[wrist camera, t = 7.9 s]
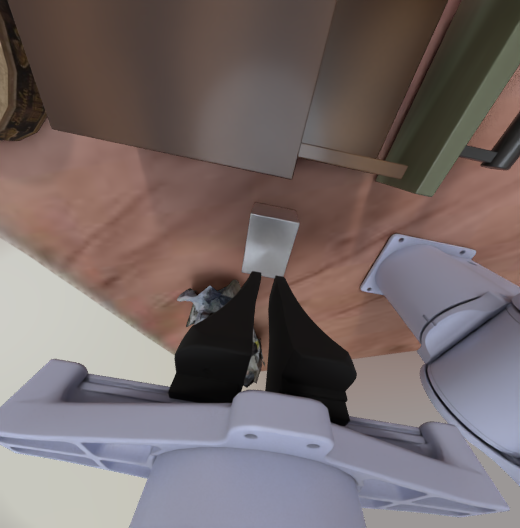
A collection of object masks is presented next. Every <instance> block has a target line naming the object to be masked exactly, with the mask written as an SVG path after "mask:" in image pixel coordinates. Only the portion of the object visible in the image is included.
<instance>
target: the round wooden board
mask: <svg viewBox="0 0 520 528" xmlns="http://www.w3.org/2000/svg"><path fill="white" fill-rule="evenodd" d="M46 117H47V114H46V111H45V108H44V105H43V102H42V99H41V96H40V93H39V91H38V88H37V85H36V82H35V79H34V76H33V73H32V70H31V67H30V64H29V62H28V59H27V56H26V53H25V50H24V47H23V44H22V41H21V38H20V35H19V32H18V30H17V27H16V24H15V21H14V18H13V15H12V12H11V9H10V6H9V3H8V1H7V0H0V140H8V141H19V140H22V139H24V138H26V137H28V136H30V135H32V134H34V133H37V132H38V130H39V129H40V127H41V125H42V124H43V122H44V120H45V119H46Z"/></svg>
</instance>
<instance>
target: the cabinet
mask: <svg viewBox="0 0 520 528" xmlns="http://www.w3.org/2000/svg"><path fill="white" fill-rule="evenodd" d="M7 1H8V3H9V6H10V9H11V12H12V15H13V18H14V21H15V24H16V27H17V30H18V32H19V35H20V38H21V41H22V44H23V47H24V50H25V53H26V56H27V59H28V62H29V64H30V67H31V70H32V73H33V76H34V79H35V82H36V85H37V88H38V91H39V93H40V96H41V99H42V102H43V105H44V108H45V111H46V114H47V117H48V120H49V123H50V125H51V128H52V129H54V130H58V131H63V132H68V133H73V134H77V135H82V136H87V137H92V138H96V139H101V140H106V141H111V142H115V143H120V144H125V145H130V146H134V147H139V148H144V149H149V150H153V151H158V152H163V153H168V154H172V155H177V156H182V157H187V158H191V159H196V160H201V161H205V162H210V163H215V164H220V165H224V166H229V167H234V168H239V169H243V170H248V171H253V172H258V173H262V174H267V175H272V176H277V177H281V178H286V179H292V178H293V174H294V170H295V166H296V162H297V158H298V154H299V150H300V146H301V142H302V138H303V134H304V130H305V126H306V122H307V118H308V114H309V110H310V106H311V102H312V99H313V95H314V91H315V87H316V83H317V79H318V75H319V71H320V67H321V63H322V59H323V55H324V51H325V47H326V43H327V39H328V35H329V31H330V27H331V23H332V20H333V16H334V12H335V8H336V4H337V0H7Z"/></svg>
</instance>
